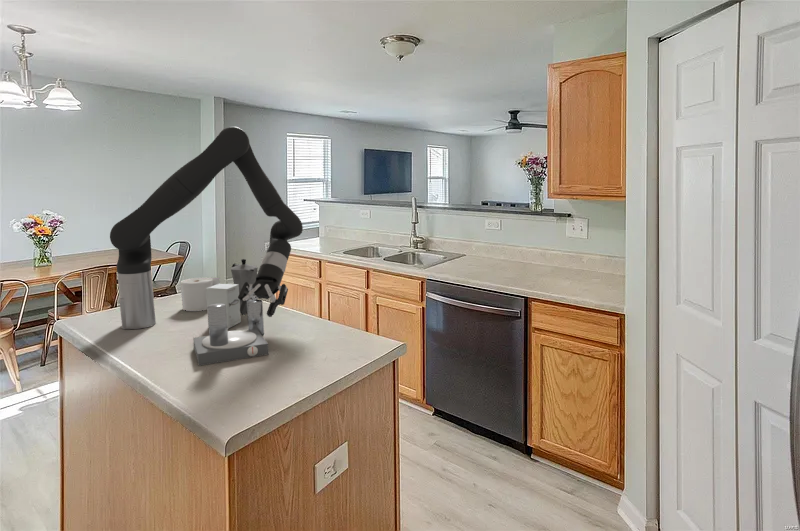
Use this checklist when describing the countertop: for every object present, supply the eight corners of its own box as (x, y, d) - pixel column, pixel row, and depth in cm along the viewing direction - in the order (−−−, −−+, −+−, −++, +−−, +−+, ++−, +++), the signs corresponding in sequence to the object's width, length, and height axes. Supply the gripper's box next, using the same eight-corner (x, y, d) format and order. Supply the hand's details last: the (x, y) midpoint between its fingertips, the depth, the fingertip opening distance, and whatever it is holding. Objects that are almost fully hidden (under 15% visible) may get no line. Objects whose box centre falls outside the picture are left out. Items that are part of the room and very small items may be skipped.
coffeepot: (268, 310, 171) (265, 259, 168) (242, 315, 165) (239, 263, 162) (247, 302, 182) (244, 254, 179) (222, 307, 176) (219, 257, 172)
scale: (198, 366, 120) (197, 352, 120) (194, 348, 133) (193, 335, 132) (268, 354, 128) (268, 341, 127) (257, 339, 141) (257, 327, 140)
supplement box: (229, 329, 150) (226, 288, 148) (207, 327, 152) (204, 287, 149) (241, 322, 157) (239, 283, 155) (220, 321, 159) (218, 282, 156)
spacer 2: (250, 337, 142) (248, 303, 141) (247, 333, 146) (245, 300, 144) (265, 335, 144) (263, 302, 143) (262, 331, 148) (260, 298, 146)
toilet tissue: (175, 310, 172) (173, 282, 170) (198, 302, 183) (196, 276, 181) (201, 312, 169) (199, 284, 167) (223, 304, 180) (221, 277, 178)
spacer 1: (211, 347, 123) (208, 308, 121) (209, 342, 127) (206, 304, 125) (229, 344, 125) (226, 306, 123) (227, 339, 129) (224, 302, 127)
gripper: (246, 261, 152) (228, 307, 143) (289, 263, 149) (273, 309, 140) (256, 275, 158) (239, 319, 149) (297, 277, 155) (282, 322, 146)
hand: (255, 314), depth 144 cm, fingers open, 8 cm apart
